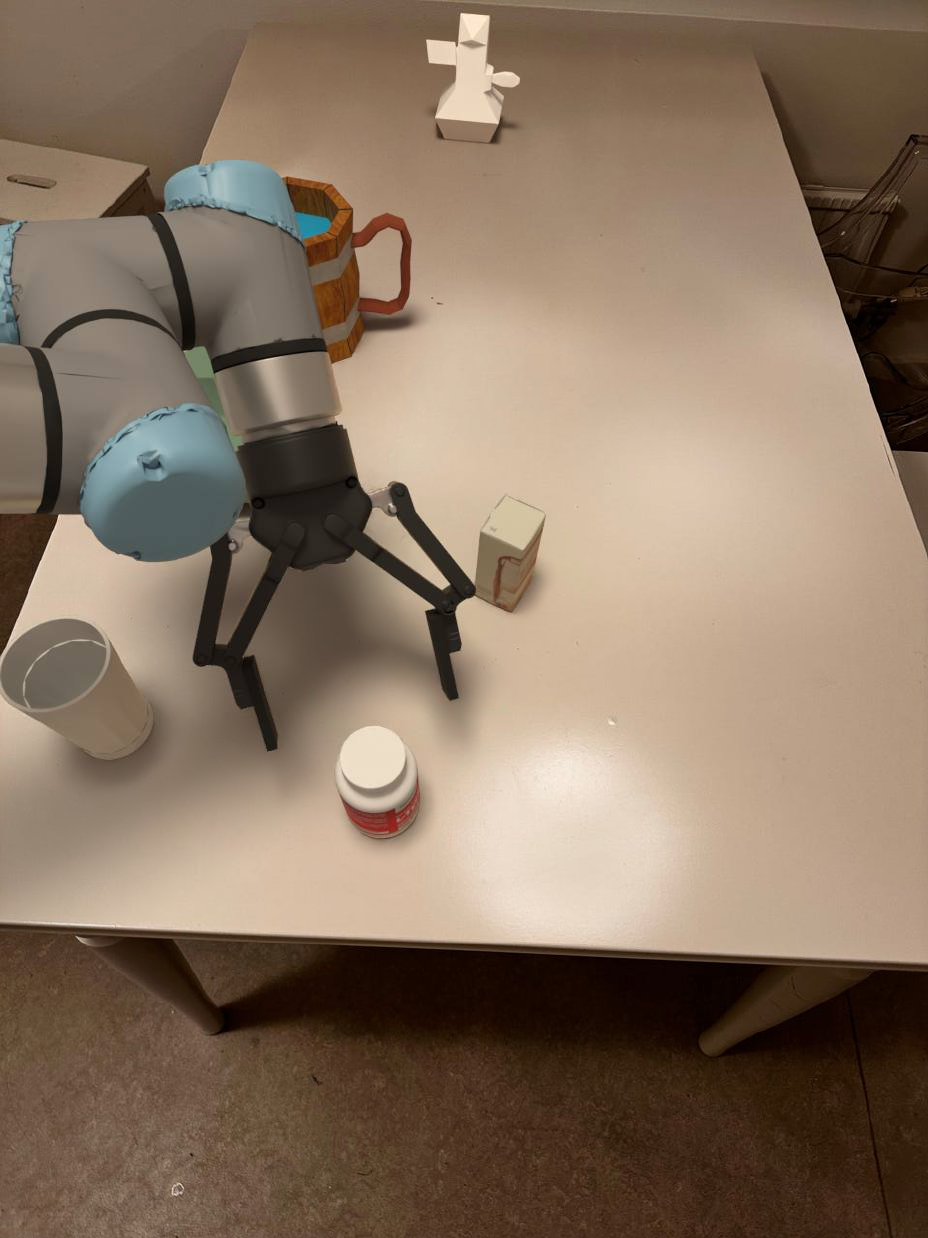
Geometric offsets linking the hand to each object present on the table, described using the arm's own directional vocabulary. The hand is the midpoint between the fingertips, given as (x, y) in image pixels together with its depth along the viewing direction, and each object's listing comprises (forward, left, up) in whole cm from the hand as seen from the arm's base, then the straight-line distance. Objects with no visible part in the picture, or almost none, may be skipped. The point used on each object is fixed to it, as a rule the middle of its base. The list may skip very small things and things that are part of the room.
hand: (363, 718), depth 55 cm
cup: (-15, +17, -9) cm, 25 cm away
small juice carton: (+21, +7, -9) cm, 24 cm away
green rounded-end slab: (+9, +41, -9) cm, 43 cm away
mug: (+29, +48, -9) cm, 56 cm away
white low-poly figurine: (+72, +74, -9) cm, 103 cm away
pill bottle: (-1, -3, -9) cm, 10 cm away
